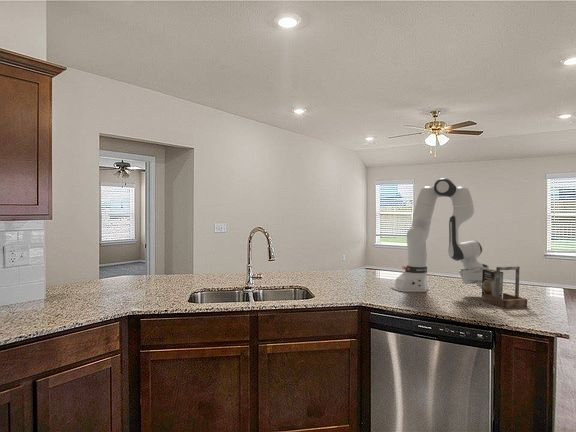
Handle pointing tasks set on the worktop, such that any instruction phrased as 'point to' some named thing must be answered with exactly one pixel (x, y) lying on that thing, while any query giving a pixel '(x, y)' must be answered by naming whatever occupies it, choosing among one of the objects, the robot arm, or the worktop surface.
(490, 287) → the coffee box
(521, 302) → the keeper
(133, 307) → the worktop surface
